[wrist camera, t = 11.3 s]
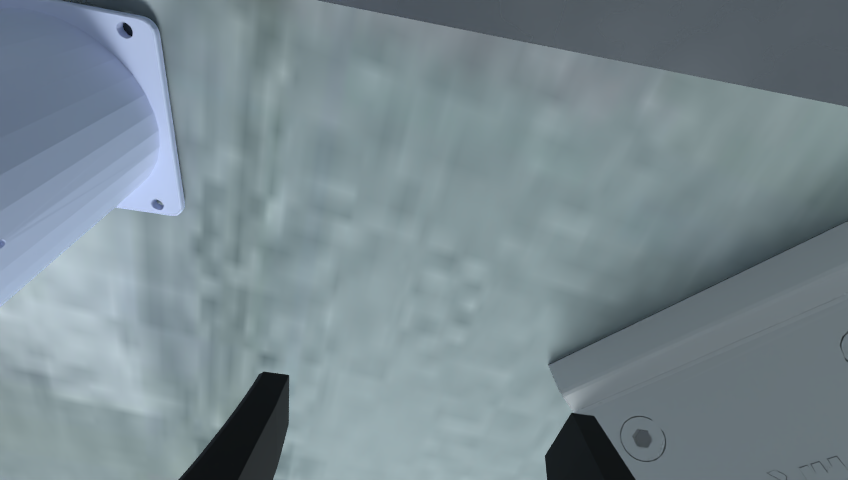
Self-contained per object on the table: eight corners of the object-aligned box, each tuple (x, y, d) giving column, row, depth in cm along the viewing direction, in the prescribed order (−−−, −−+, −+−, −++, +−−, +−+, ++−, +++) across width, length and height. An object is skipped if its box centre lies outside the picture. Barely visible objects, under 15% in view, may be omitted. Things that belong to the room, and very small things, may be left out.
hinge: (860, 214, 20) (1129, 442, 14) (852, 254, 23) (1066, 452, 17) (542, 368, 26) (627, 574, 20) (571, 382, 29) (652, 564, 23)
